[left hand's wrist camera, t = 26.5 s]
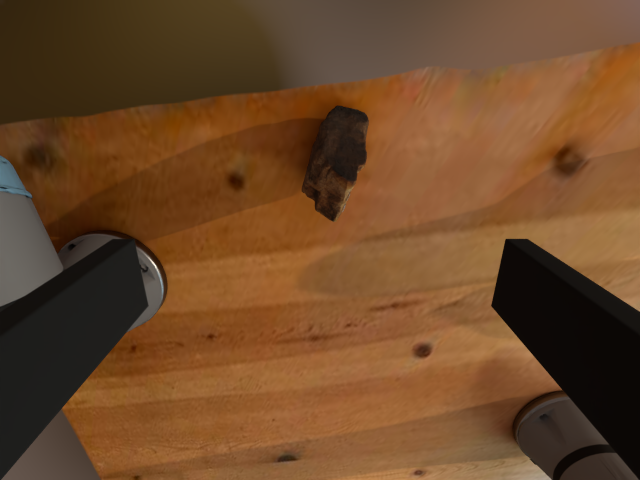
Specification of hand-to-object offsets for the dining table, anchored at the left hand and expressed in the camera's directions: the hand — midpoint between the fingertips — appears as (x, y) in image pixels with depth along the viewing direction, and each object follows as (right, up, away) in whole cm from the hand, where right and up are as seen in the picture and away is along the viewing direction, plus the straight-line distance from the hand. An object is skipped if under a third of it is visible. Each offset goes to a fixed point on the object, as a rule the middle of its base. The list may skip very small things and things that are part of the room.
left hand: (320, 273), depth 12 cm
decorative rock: (+2, +12, +32) cm, 34 cm away
